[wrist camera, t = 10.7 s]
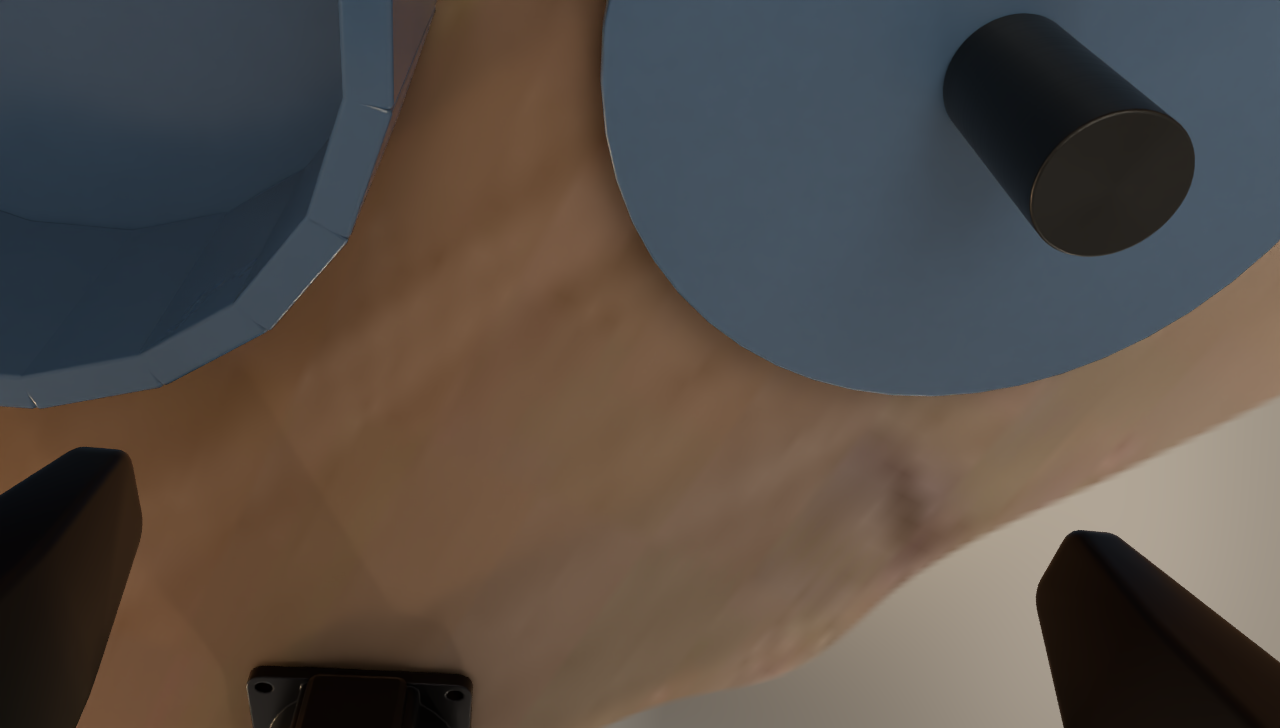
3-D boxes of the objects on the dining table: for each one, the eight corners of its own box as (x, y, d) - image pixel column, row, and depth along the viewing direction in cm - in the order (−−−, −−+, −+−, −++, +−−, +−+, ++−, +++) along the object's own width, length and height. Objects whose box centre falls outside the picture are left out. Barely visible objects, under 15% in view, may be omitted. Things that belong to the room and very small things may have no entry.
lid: (1172, 392, 24) (1306, 563, 20) (565, 341, 22) (560, 516, 18) (1601, -355, 15) (2020, -354, 11) (661, -533, 14) (698, -615, 9)
